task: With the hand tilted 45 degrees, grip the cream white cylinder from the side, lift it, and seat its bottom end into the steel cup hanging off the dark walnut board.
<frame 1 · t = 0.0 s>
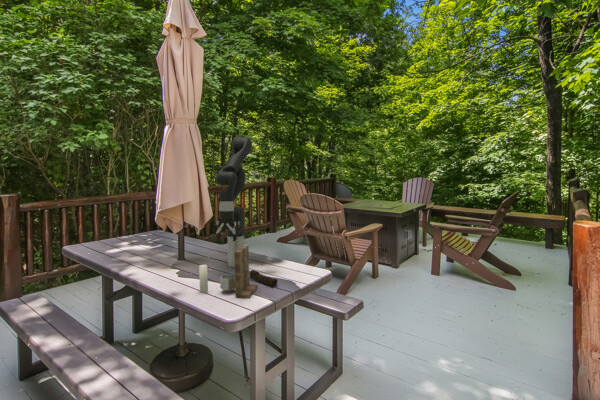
hand: (226, 240, 177), 17 cm above the table, tool pointing down, fingers open, 8 cm apart
walnut board: (242, 292, 152), on the table
hand tool: (261, 283, 165), on the table
cream white cylinder: (204, 291, 153), on the table
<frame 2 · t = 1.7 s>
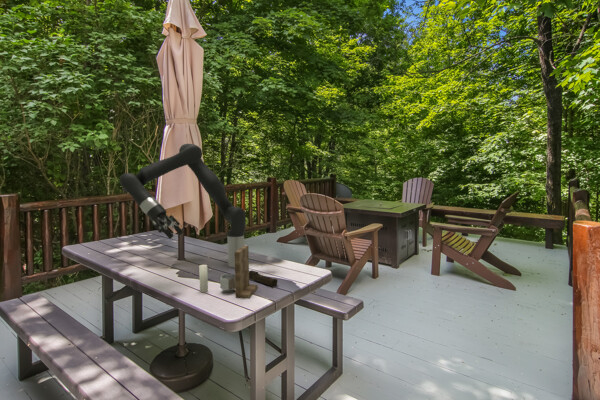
hand: (177, 235, 152), 25 cm above the table, tool tilted 45°, fingers open, 8 cm apart
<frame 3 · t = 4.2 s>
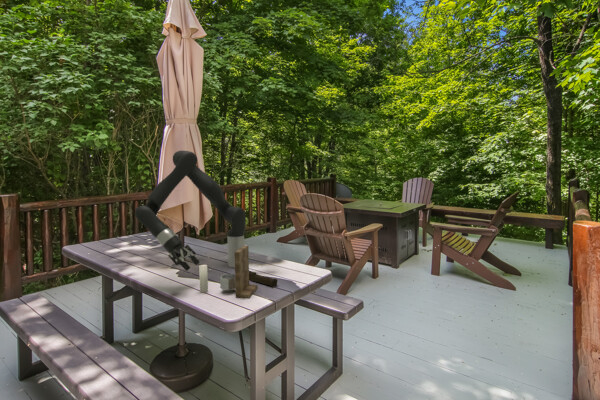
hand: (193, 266, 153), 11 cm above the table, tool tilted 45°, fingers open, 8 cm apart
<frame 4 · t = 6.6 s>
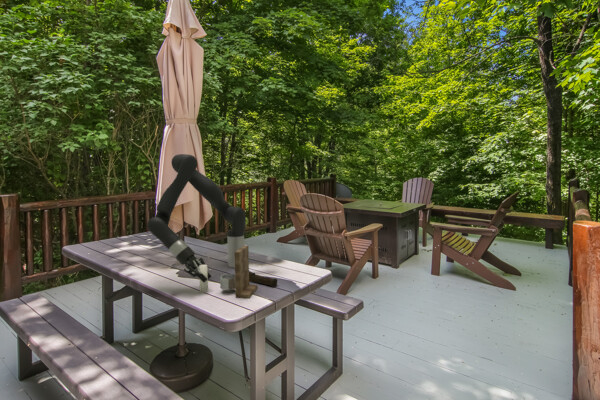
hand: (207, 279, 152), 6 cm above the table, tool tilted 45°, fingers closed on cream white cylinder, 3 cm apart
cream white cylinder: (204, 291, 153), on the table, touching gripper
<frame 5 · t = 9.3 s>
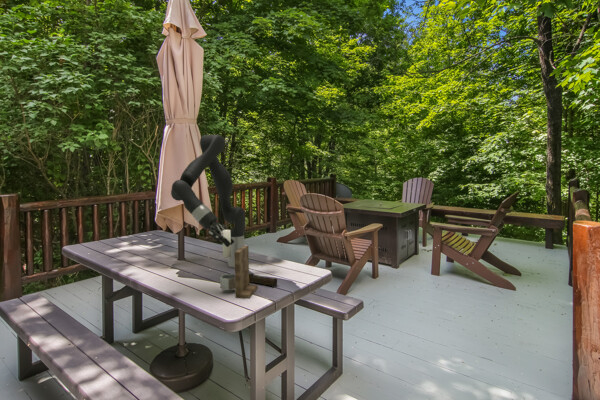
hand: (231, 244, 150), 22 cm above the table, tool tilted 45°, fingers closed on cream white cylinder, 3 cm apart
cream white cylinder: (227, 256, 151), point 16 cm above the table, touching gripper
when the fingers open (10 cm above the table, at t = 12.5 s): cream white cylinder drops 1 cm, resting on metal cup.
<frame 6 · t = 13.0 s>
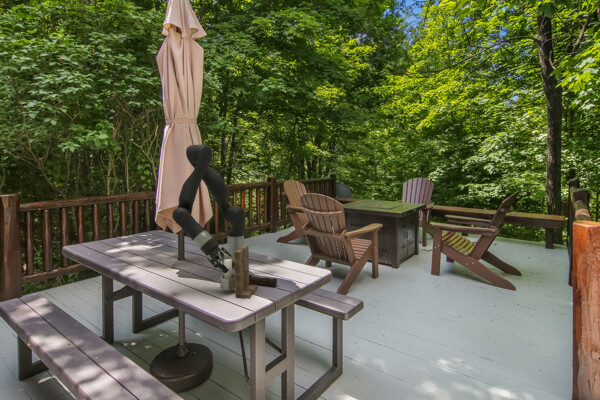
hand: (231, 269, 151), 11 cm above the table, tool tilted 45°, fingers open, 8 cm apart
cream white cylinder: (228, 285, 153), point 3 cm above the table, touching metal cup
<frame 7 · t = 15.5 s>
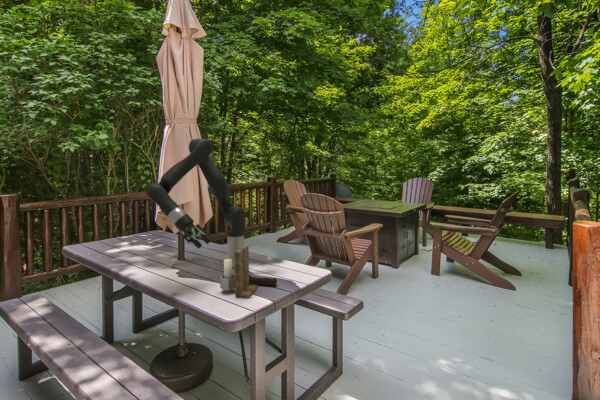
hand: (204, 244, 153), 21 cm above the table, tool tilted 45°, fingers open, 8 cm apart
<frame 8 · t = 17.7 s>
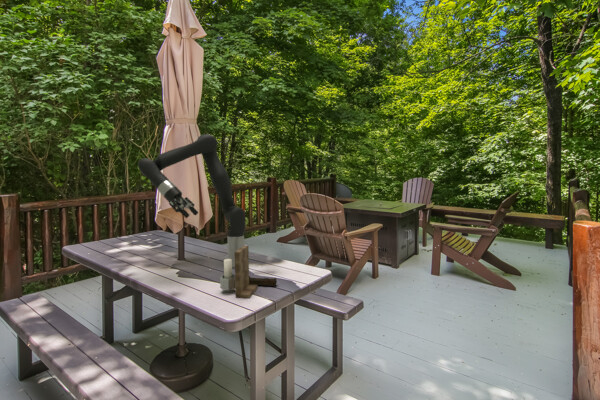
hand: (192, 215, 163), 33 cm above the table, tool tilted 45°, fingers open, 8 cm apart
at the end: cream white cylinder 0.1 cm off-centre on the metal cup, point 2.6 cm above the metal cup's base; cream white cylinder tilted 0°; the gripper is holding nothing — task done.
